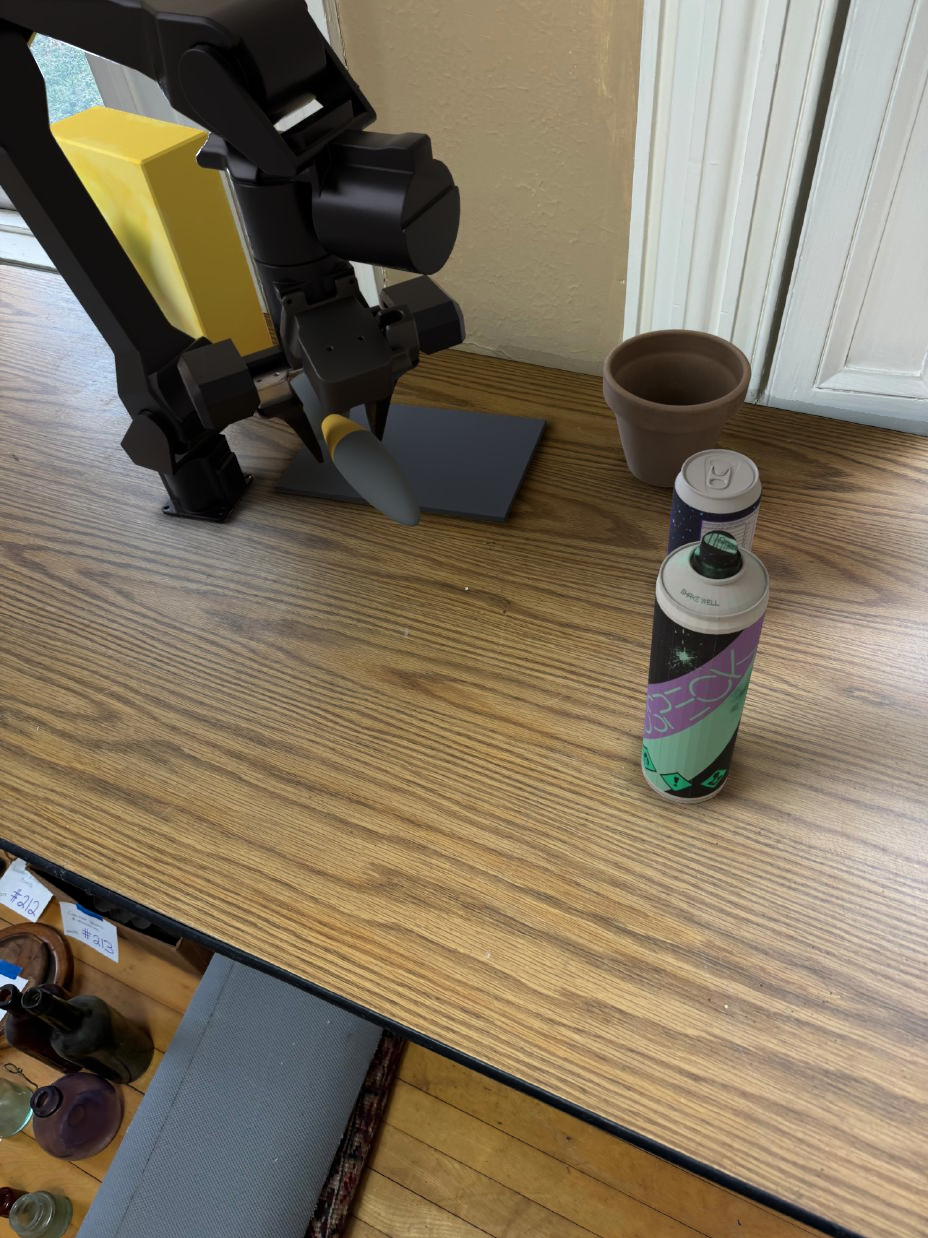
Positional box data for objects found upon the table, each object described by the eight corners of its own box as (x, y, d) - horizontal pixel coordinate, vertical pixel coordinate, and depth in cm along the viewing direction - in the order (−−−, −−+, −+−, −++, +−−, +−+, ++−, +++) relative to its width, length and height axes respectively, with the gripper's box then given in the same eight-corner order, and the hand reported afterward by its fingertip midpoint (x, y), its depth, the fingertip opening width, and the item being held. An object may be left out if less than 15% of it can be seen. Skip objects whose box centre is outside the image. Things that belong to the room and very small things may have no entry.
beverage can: (745, 576, 65) (770, 450, 56) (735, 631, 62) (760, 506, 53) (670, 565, 67) (683, 440, 58) (656, 617, 64) (667, 494, 55)
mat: (276, 491, 79) (274, 486, 78) (337, 402, 87) (335, 397, 87) (504, 523, 72) (504, 517, 72) (546, 424, 81) (546, 419, 80)
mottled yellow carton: (97, 380, 95) (-17, 151, 77) (185, 328, 101) (97, 103, 83) (192, 430, 87) (88, 185, 69) (282, 371, 92) (208, 130, 74)
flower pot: (760, 453, 75) (779, 350, 67) (691, 527, 70) (704, 424, 62) (647, 411, 80) (653, 312, 73) (576, 477, 75) (574, 378, 68)
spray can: (632, 736, 57) (648, 511, 42) (714, 725, 57) (759, 495, 42) (651, 809, 53) (675, 590, 39) (739, 798, 53) (797, 574, 38)
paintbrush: (462, 512, 60) (454, 455, 56) (404, 545, 59) (392, 490, 55) (322, 395, 72) (307, 342, 68) (270, 421, 70) (252, 367, 66)
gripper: (178, 352, 45) (260, 561, 57) (493, 250, 49) (509, 464, 61) (138, 269, 52) (218, 470, 64) (416, 185, 56) (444, 389, 68)
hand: (348, 449), depth 64 cm, fingers closed on paintbrush, 4 cm apart
